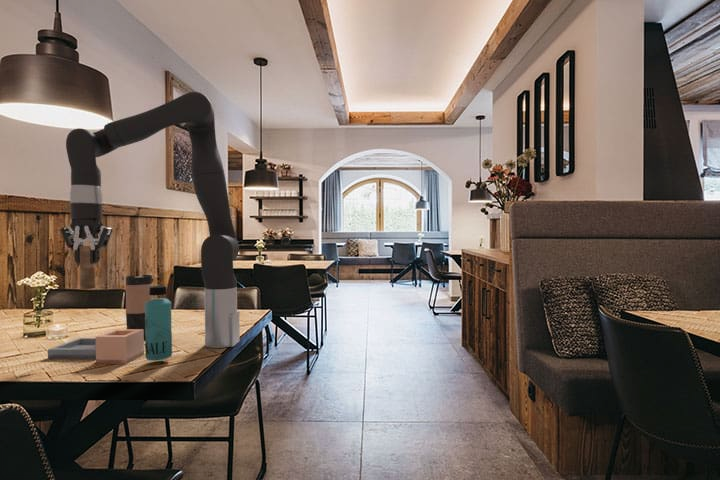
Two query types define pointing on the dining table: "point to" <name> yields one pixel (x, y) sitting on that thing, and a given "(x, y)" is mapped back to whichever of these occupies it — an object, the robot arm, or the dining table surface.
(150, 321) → the beverage bottle
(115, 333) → the pin cup
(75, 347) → the slate tray
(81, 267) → the walnut dowel
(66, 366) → the dining table surface
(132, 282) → the travel mug
